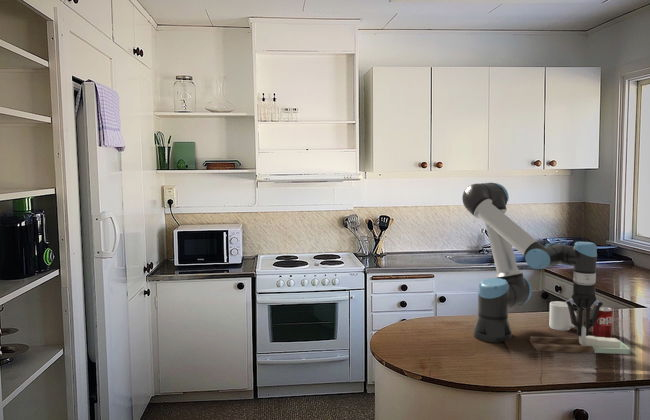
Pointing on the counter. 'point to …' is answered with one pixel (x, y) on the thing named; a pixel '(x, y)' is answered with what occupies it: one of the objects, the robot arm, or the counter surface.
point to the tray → (614, 349)
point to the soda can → (603, 323)
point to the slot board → (559, 344)
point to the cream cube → (613, 343)
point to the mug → (560, 316)
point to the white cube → (602, 342)
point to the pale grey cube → (591, 341)
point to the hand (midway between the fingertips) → (582, 343)
